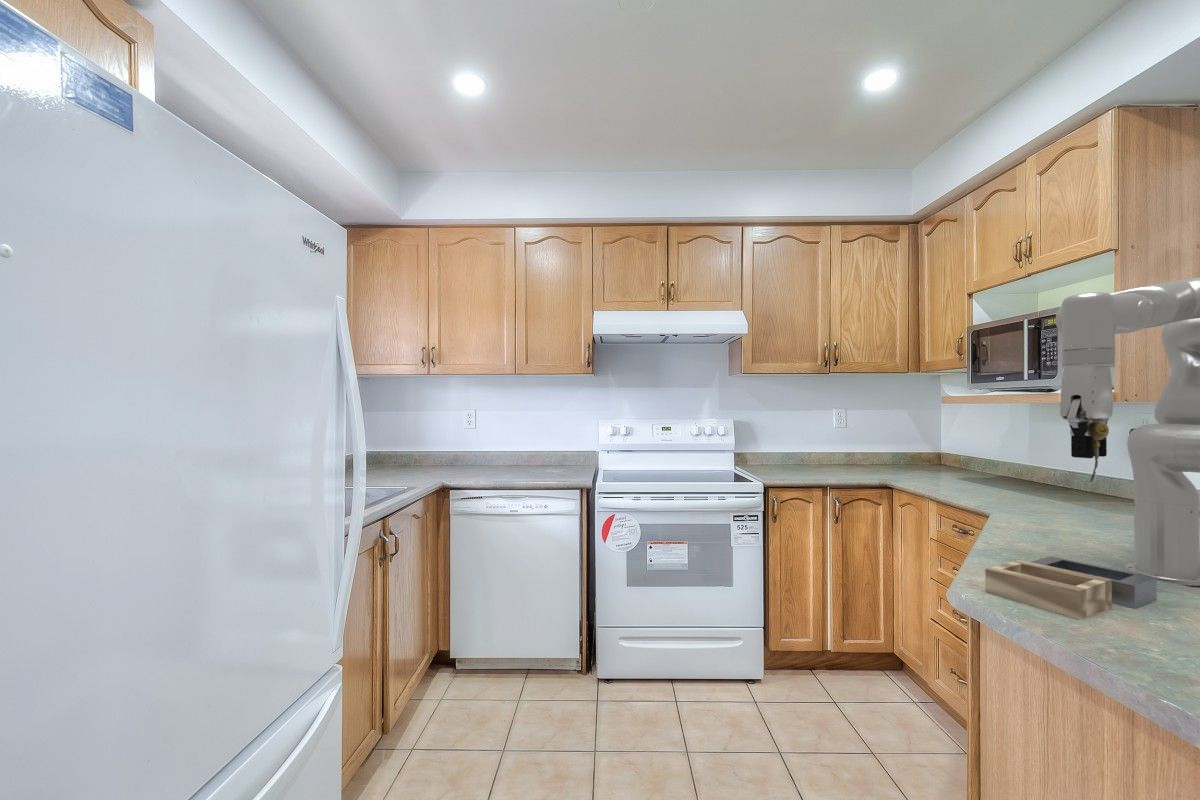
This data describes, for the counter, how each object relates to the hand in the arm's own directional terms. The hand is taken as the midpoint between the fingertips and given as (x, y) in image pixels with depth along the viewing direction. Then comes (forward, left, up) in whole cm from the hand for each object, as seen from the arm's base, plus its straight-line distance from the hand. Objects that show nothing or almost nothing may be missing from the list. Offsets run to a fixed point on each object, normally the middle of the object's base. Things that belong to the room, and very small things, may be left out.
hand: (1089, 455), depth 106 cm
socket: (+14, -1, -25) cm, 29 cm away
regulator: (0, 0, -5) cm, 5 cm away
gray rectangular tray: (0, 0, -25) cm, 25 cm away
